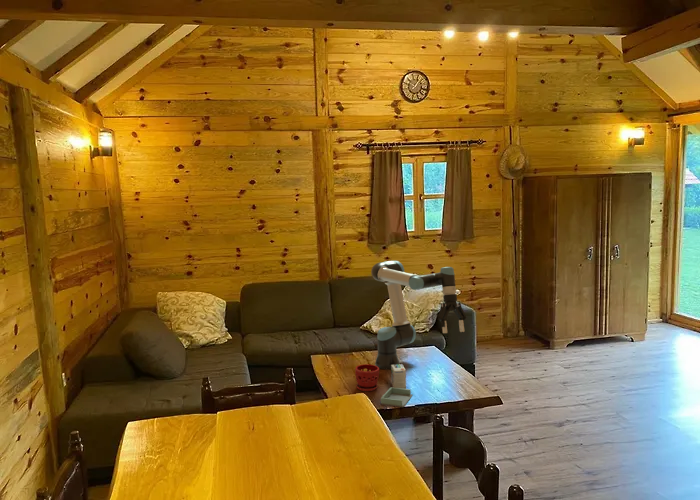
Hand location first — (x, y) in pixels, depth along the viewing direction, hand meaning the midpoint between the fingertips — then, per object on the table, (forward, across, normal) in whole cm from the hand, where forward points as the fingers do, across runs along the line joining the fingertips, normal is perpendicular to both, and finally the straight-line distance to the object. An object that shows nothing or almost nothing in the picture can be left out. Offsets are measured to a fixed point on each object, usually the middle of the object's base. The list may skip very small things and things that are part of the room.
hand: (453, 332), depth 286 cm
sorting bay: (+32, -38, +9) cm, 50 cm away
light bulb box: (+27, -24, +22) cm, 43 cm away
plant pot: (+27, -40, +31) cm, 57 cm away
